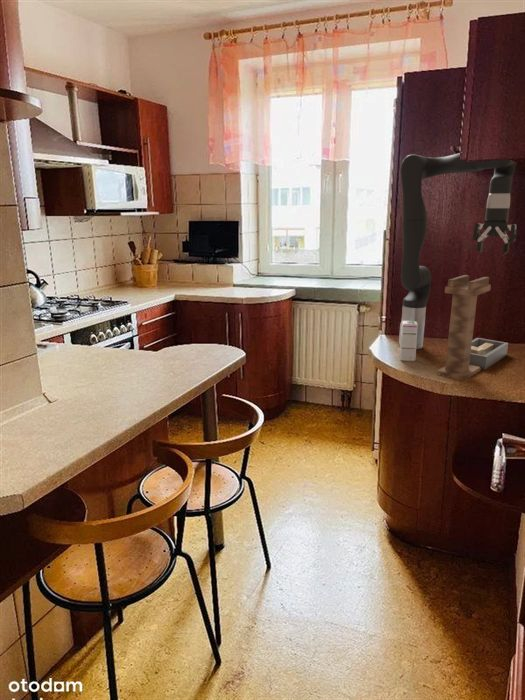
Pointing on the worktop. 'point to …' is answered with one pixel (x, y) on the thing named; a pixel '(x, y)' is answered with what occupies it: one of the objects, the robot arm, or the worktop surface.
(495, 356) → the tray
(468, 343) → the stand
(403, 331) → the syrup box
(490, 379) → the worktop surface
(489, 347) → the peg
